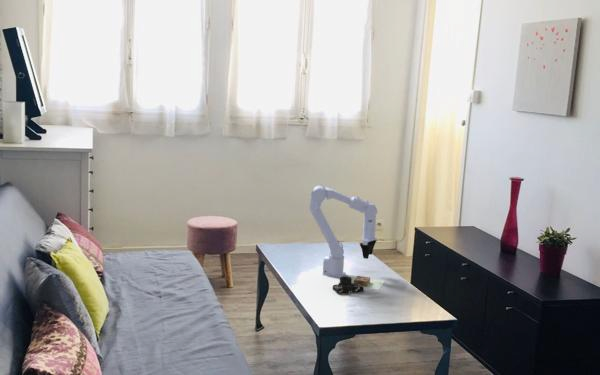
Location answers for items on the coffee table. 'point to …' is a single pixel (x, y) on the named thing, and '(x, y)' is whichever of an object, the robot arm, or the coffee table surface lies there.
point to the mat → (371, 283)
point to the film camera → (347, 286)
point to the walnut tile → (362, 280)
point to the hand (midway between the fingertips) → (367, 256)
